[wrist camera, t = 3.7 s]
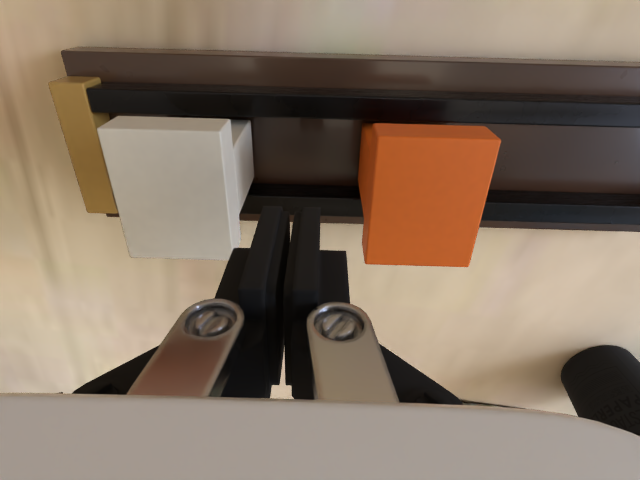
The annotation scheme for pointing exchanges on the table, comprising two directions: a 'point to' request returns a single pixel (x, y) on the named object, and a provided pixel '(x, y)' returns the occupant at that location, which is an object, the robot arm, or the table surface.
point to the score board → (402, 74)
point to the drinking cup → (605, 386)
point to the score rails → (344, 104)
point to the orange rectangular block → (423, 191)
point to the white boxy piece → (179, 183)
